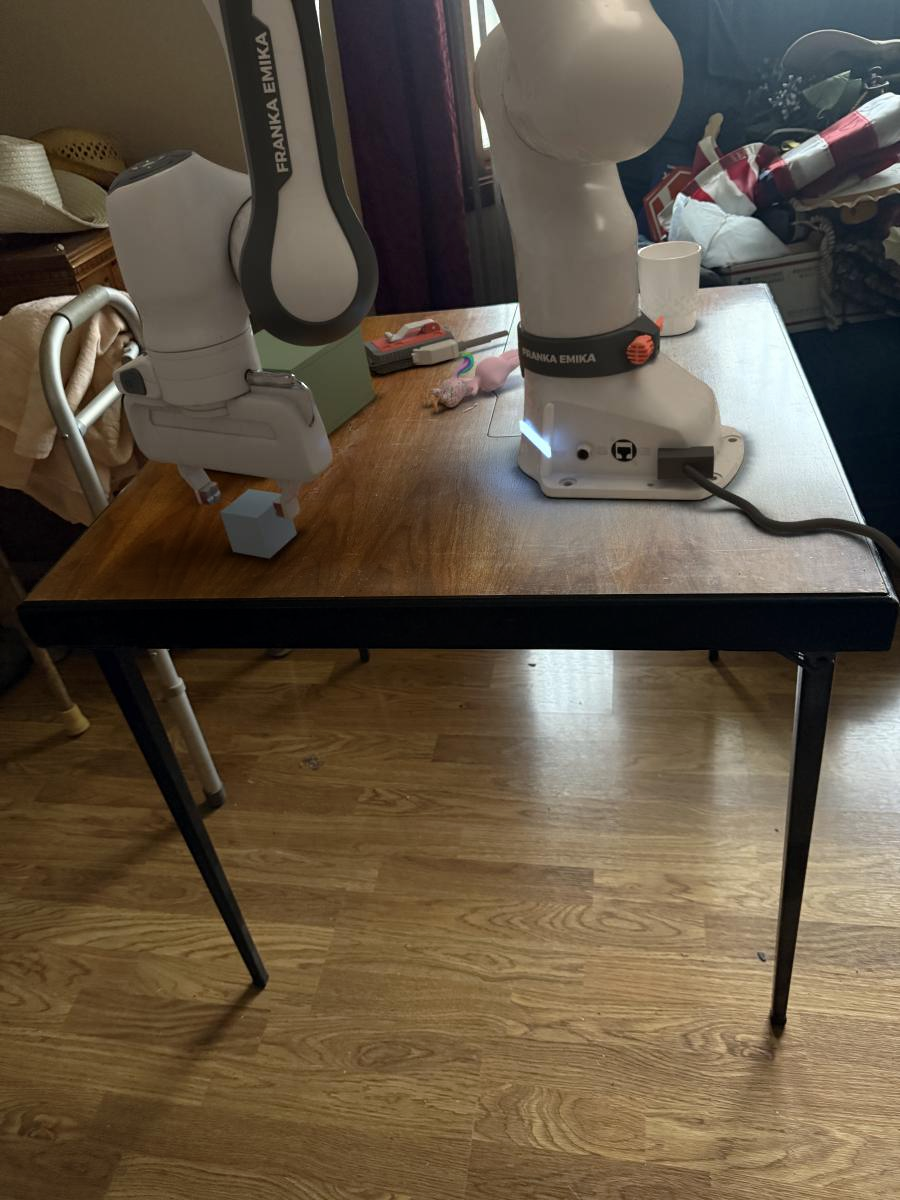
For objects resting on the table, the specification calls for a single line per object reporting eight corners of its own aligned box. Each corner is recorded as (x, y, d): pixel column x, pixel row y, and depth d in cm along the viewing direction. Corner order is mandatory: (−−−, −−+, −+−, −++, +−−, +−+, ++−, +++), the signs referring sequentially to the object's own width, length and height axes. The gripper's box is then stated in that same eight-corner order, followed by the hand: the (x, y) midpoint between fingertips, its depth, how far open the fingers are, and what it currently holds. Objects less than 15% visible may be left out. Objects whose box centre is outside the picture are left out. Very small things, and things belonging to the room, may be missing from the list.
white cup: (652, 342, 113) (651, 263, 108) (629, 324, 120) (628, 249, 114) (709, 330, 114) (712, 250, 108) (684, 313, 120) (685, 237, 115)
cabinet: (310, 449, 101) (289, 369, 96) (226, 440, 107) (202, 364, 101) (375, 397, 111) (360, 323, 106) (295, 391, 117) (277, 320, 111)
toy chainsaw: (376, 383, 115) (512, 344, 120) (369, 351, 112) (509, 312, 117) (356, 364, 122) (486, 328, 127) (350, 333, 119) (483, 297, 124)
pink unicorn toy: (446, 427, 104) (551, 372, 107) (431, 383, 100) (540, 327, 103) (424, 411, 109) (525, 359, 111) (409, 368, 105) (514, 315, 108)
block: (297, 534, 85) (285, 493, 83) (269, 559, 82) (257, 517, 80) (261, 528, 87) (248, 488, 85) (232, 552, 84) (219, 511, 82)
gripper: (328, 360, 72) (358, 506, 80) (147, 348, 81) (191, 480, 89) (283, 390, 68) (320, 542, 76) (97, 373, 77) (147, 510, 85)
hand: (249, 508), depth 82 cm, fingers open, 8 cm apart
